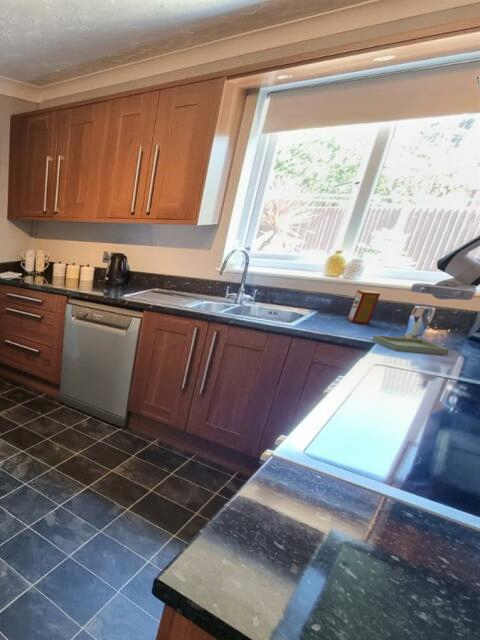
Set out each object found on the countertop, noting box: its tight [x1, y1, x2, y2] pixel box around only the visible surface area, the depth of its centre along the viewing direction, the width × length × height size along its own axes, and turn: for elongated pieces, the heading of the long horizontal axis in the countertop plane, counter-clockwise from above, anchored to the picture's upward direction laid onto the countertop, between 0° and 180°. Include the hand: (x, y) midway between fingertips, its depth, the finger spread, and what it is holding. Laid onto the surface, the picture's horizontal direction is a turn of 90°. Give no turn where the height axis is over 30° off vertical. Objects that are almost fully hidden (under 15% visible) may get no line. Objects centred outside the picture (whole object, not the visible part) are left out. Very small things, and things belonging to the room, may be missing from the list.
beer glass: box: [401, 305, 437, 339], centre depth 187 cm, size 7×7×15 cm
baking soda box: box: [346, 289, 381, 325], centre depth 220 cm, size 10×6×16 cm
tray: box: [372, 334, 450, 356], centre depth 179 cm, size 18×16×2 cm
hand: (438, 292), depth 188 cm, fingers open, 8 cm apart
